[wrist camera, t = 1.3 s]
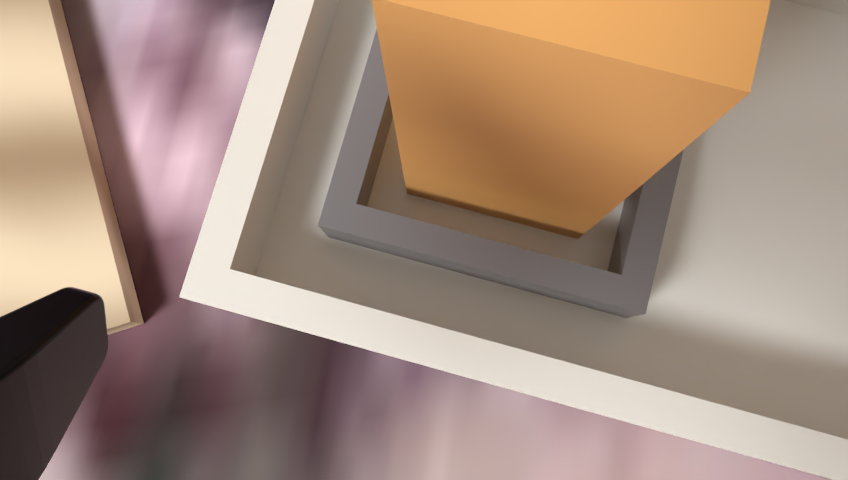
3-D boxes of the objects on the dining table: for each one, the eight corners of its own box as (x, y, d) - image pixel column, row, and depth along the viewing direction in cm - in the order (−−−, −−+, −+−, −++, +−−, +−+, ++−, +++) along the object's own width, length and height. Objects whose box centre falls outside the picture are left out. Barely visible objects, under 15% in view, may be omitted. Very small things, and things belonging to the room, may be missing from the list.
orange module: (577, 239, 22) (750, 92, 10) (406, 193, 22) (371, -3, 10) (618, 75, 22) (825, -248, 10) (452, 33, 23) (469, -329, 11)
